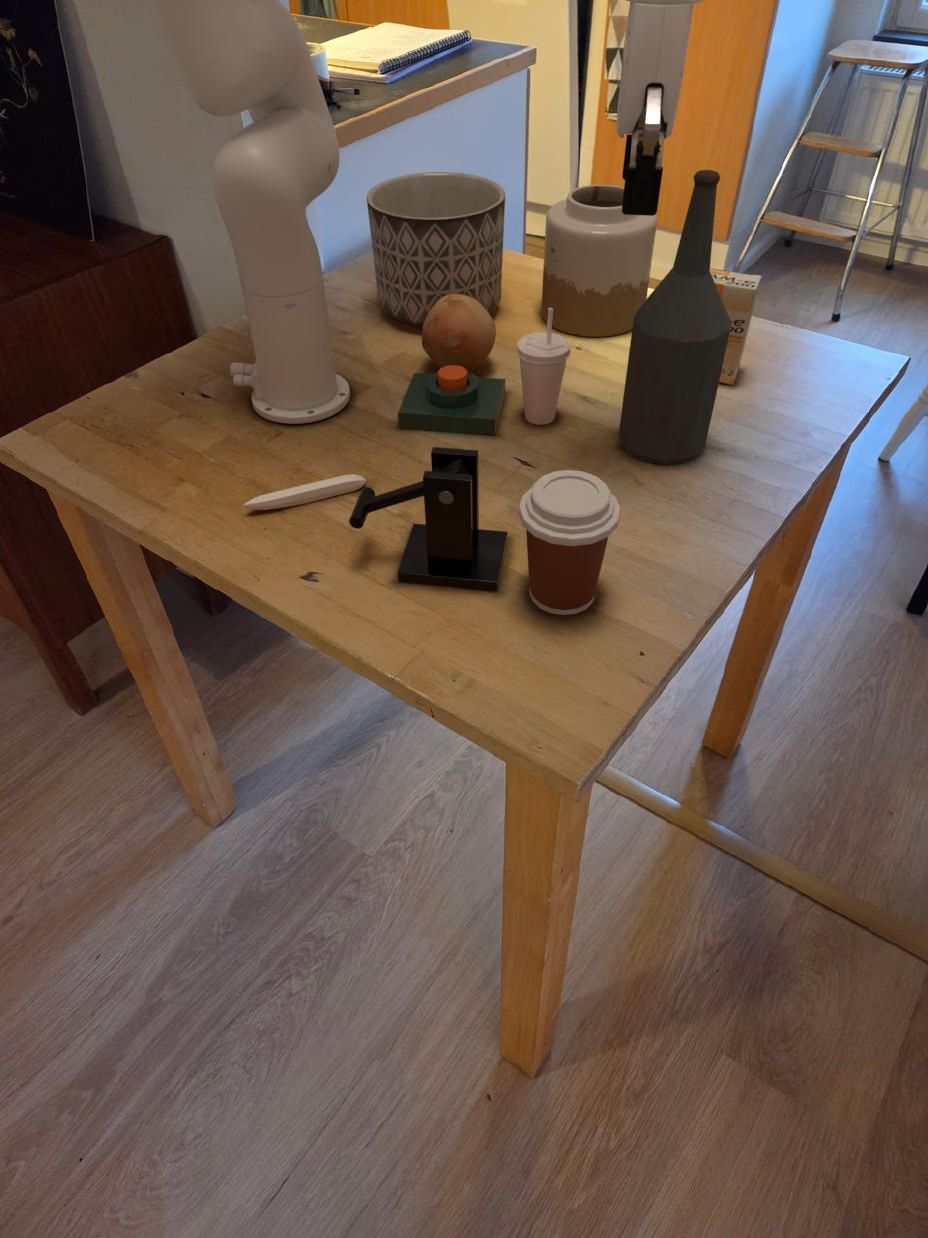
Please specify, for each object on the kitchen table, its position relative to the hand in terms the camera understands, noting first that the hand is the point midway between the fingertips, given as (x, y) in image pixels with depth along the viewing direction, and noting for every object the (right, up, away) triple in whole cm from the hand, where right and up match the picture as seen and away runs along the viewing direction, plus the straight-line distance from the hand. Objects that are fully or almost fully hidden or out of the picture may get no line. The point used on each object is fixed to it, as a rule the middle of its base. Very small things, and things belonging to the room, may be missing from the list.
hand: (638, 195), depth 82 cm
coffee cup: (-7, -38, +1) cm, 39 cm away
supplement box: (+16, -8, +32) cm, 36 cm away
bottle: (+7, -20, +20) cm, 29 cm away
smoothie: (-7, -16, +25) cm, 30 cm away
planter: (-21, +6, +47) cm, 52 cm away
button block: (-18, -14, +26) cm, 35 cm away
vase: (+2, +5, +45) cm, 45 cm away
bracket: (-18, -35, +5) cm, 40 cm away
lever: (-22, -30, 0) cm, 37 cm away
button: (-18, -12, +23) cm, 32 cm away
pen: (-34, -28, +13) cm, 46 cm away
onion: (-17, -7, +34) cm, 39 cm away
